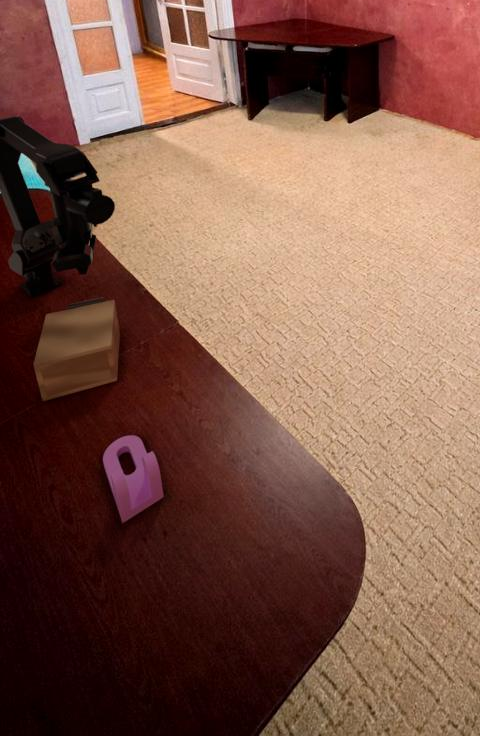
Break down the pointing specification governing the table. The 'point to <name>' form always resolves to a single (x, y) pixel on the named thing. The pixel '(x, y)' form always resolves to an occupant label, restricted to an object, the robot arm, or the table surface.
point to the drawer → (85, 303)
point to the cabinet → (78, 350)
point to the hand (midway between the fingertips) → (83, 273)
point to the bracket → (133, 477)
